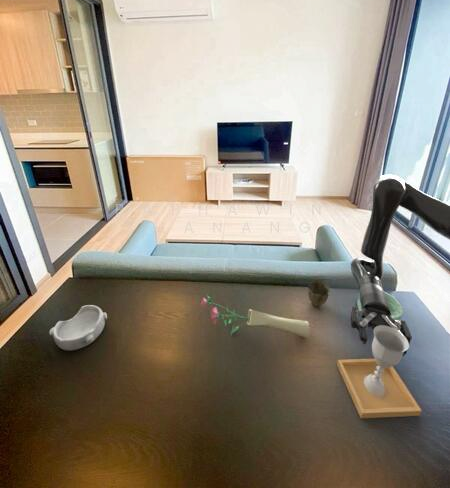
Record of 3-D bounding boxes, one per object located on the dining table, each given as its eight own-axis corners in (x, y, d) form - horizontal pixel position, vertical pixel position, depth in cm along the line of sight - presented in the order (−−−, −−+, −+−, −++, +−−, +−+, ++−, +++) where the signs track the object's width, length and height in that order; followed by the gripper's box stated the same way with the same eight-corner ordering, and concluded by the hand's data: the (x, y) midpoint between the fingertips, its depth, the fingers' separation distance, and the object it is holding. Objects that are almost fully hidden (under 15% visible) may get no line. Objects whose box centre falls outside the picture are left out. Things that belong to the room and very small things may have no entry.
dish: (46, 345, 76) (41, 334, 74) (82, 310, 88) (79, 299, 86) (83, 359, 72) (79, 348, 70) (115, 320, 84) (113, 310, 82)
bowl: (383, 297, 94) (386, 287, 93) (408, 327, 82) (412, 317, 80) (350, 297, 94) (352, 288, 92) (370, 328, 82) (373, 318, 80)
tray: (385, 362, 71) (387, 358, 70) (419, 415, 59) (421, 410, 59) (336, 364, 71) (337, 359, 70) (360, 418, 59) (362, 413, 58)
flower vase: (298, 359, 79) (193, 337, 78) (294, 320, 89) (200, 300, 88) (313, 347, 72) (197, 322, 71) (307, 306, 81) (205, 283, 80)
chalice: (362, 396, 63) (378, 347, 56) (356, 369, 69) (369, 322, 62) (394, 404, 61) (414, 355, 55) (385, 376, 67) (401, 328, 61)
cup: (301, 304, 91) (304, 287, 88) (311, 293, 96) (314, 277, 93) (321, 316, 86) (324, 298, 83) (329, 304, 91) (333, 287, 88)
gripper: (351, 286, 78) (355, 328, 64) (403, 299, 73) (421, 347, 59) (346, 303, 81) (350, 347, 67) (397, 317, 76) (412, 368, 62)
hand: (383, 347), depth 63 cm, fingers open, 8 cm apart
